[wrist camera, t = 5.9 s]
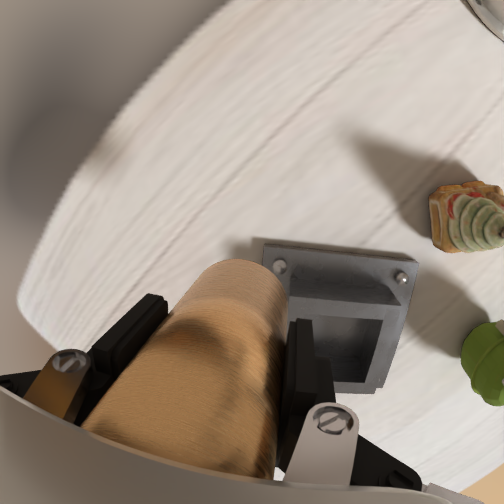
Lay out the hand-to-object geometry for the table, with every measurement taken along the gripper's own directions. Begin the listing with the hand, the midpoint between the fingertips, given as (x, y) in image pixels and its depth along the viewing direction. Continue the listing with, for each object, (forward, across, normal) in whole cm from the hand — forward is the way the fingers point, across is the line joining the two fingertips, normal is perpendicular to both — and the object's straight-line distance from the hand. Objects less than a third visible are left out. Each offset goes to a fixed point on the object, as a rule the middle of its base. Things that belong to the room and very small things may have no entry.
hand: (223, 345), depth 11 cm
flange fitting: (+17, -7, +7) cm, 20 cm away
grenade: (+18, -25, +8) cm, 32 cm away
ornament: (+18, -18, -5) cm, 26 cm away
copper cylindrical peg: (+3, 0, 0) cm, 3 cm away
